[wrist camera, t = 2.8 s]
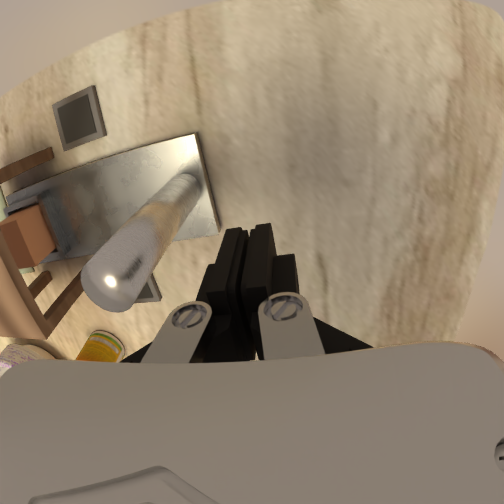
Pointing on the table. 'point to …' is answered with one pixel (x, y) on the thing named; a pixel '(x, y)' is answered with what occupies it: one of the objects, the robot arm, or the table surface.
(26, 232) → the block
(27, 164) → the wooden table
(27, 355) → the paper bowls
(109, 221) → the metal rod stand
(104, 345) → the supplement bottle
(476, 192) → the table surface
